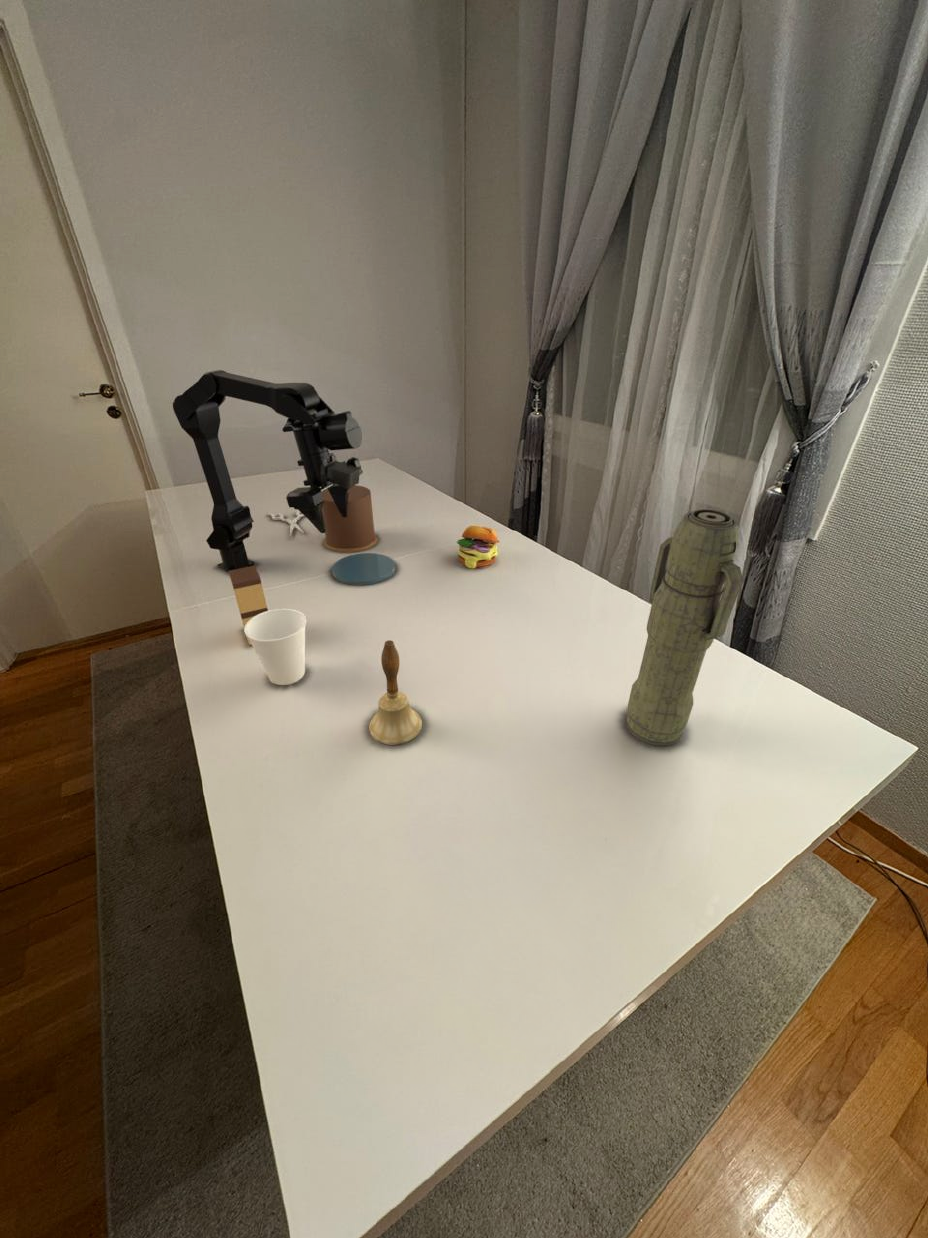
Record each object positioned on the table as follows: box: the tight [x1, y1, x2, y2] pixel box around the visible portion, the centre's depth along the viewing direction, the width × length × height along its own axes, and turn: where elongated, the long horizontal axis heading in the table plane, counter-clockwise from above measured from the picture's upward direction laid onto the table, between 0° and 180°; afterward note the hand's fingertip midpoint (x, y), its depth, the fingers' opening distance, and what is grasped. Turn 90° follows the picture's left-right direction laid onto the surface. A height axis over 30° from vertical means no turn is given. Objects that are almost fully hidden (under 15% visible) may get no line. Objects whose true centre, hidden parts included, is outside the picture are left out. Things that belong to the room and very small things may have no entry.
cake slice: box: [228, 565, 269, 646], centre depth 99 cm, size 6×5×13 cm
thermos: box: [624, 508, 744, 747], centre depth 72 cm, size 9×12×35 cm
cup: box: [243, 608, 307, 686], centre depth 89 cm, size 10×10×11 cm
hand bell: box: [368, 640, 423, 746], centre depth 77 cm, size 8×8×16 cm
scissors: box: [268, 510, 305, 537], centre depth 149 cm, size 11×1×20 cm
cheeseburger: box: [456, 525, 500, 569], centre depth 129 cm, size 10×11×10 cm
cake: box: [322, 484, 378, 553], centre depth 137 cm, size 14×14×13 cm
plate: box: [331, 552, 396, 586], centre depth 126 cm, size 15×15×1 cm
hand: (334, 524), depth 113 cm, fingers open, 9 cm apart
